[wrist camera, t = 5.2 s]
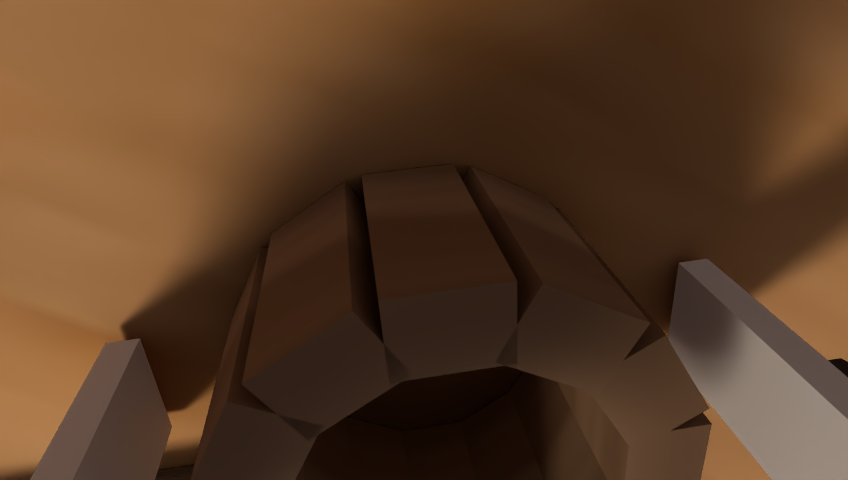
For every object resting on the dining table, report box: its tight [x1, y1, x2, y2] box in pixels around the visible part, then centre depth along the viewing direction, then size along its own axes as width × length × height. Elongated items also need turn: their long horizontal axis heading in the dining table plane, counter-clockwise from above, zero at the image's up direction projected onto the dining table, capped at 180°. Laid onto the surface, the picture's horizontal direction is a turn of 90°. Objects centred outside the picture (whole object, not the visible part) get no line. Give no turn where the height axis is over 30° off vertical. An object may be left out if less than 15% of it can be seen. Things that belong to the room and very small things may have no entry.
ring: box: [191, 164, 712, 480], centre depth 13 cm, size 9×9×5 cm
